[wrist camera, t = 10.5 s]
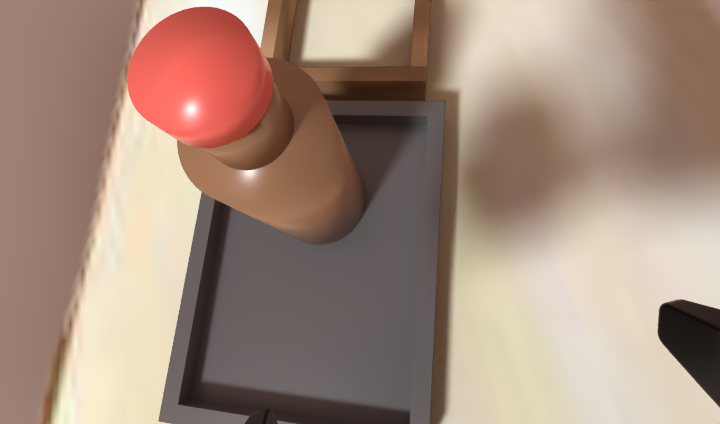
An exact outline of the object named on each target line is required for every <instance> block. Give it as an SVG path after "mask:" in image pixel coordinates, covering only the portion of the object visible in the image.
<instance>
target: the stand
mask: <svg viewBox="0 0 720 424" xmlns="http://www.w3.org/2000/svg"><path fill="white" fill-rule="evenodd" d="M296 6H297V0H269V1H268V7H267V13H266V19H265V25H264V31H263V37H262V43H261V48H260V49H261V51H262V52H263V54H264V55H265V57H267V58H276V59H281V60H284V61H287V62H288V59H289V53H290V46H291V39H292V33H293V26H294V19H295V13H296ZM430 7H431V0H415V7H414V21H413V35H412V49H411V63H410V66H403V67H299V68H301V69H302V70H304V71H305V72H306V73H307V74H308V75H309V76H311V77H312V79H313V80H314V81H315V82H316V84H317V85H318V87H319V88H320V90H321V92H322V94H323V96H324V98H325V100H328V101H425V89H426V73H427V56H428V40H429V23H430Z"/></svg>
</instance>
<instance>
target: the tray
mask: <svg viewBox="0 0 720 424" xmlns="http://www.w3.org/2000/svg"><path fill="white" fill-rule="evenodd" d="M326 103H327V105H328V107H329V109H330V111H331V114H332V116H333V118H334V120H335V122H336V125H337V127H338V129H339V131H340V133H341V136H342V138H343V140H344V142H345V144H346V147H347V149H348V151H349V153H350V155H351V157H352V160H353V162H354V164H355V166H356V168H357V171H358V173H359V175H360V177H361V179H362V182H363V184H364V187H365V192H366V205H365V210H364V213H363V216H362V218H361V220H360V222H359V223H358V225H357V226H356V227H355V229H354V230H353V231H352V232H351V233H350V234H348V235H347V236H346V237H344V238H342V239H341V240H339V241H336V242H333V243H330V244H323V245H316V244H310V243H306V242H304V241H301V240H299V239H297V238H295V237H293V236H291V235H289V234H287V233H285V232H282V231H280V230H278V229H276V228H274V227H272V226H270V225H268V224H266V223H264V222H261V221H259V220H257V219H255V218H253V217H251V216H249V215H247V214H245V213H243V212H240V211H238V210H236V209H234V208H232V207H230V206H228V205H226V204H224V203H222V202H220V201H217V200H215V199H213V198H211V197H209V196H208V195H206V194H205V193H203V192H202V194H201V199H200V204H199V210H198V215H197V220H196V225H195V231H194V236H193V241H192V247H191V252H190V257H189V262H188V268H187V273H186V278H185V283H184V289H183V294H182V299H181V305H180V310H179V315H178V320H177V326H176V331H175V336H174V342H173V347H172V352H171V357H170V363H169V368H168V373H167V379H166V384H165V389H164V394H163V400H162V405H161V410H160V416H159V422H165V423H171V424H244V423H245V422H246V420H247V419H248V417H249V416H250V415H251V414H252V413H253V412H255V411H259V410H263V409H266V408H270V409H271V410H272V411H273V413H274V415H275V418H276V420H277V422H278V424H430V406H431V385H432V364H433V343H434V323H435V302H436V281H437V260H438V239H439V218H440V197H441V176H442V155H443V134H444V113H445V101H328V100H326Z"/></svg>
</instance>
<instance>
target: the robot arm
mask: <svg viewBox="0 0 720 424" xmlns="http://www.w3.org/2000/svg"><path fill="white" fill-rule="evenodd" d="M658 336H659V339H660V340H661V342H662V344H663V345H664V346H665V347H666V348H667V349H668V350H669V352H670V353H671V354H672V355H673V356H674V357H675V358H676V359H677V361H678V362H679V363H680V364H681V365H682V366H683V367H684V368H685V369H686V371H687V372H688V373H689V374H690V375H691V376H692V377H693V378H694V380H695V381H696V382H697V383H698V384H699V385H700V386H701V387H702V388H703V390H704V391H705V392H706V393H707V394H708V395H709V396H710V397H711V398H712V399H713V401H714V402H715V403H716V404H717V405H718V406H719V407H720V309H716V308H712V307H708V306H705V305H701V304H697V303H694V302H690V301H686V300H674V301H670V302H667V303H663V304H662V305H661V306H660V308H659V318H658ZM244 424H278V422H277V420H276V418H275V415H274V413H273V411H272V410H271V409H270V408H266V409H263V410H259V411H255V412H253V413H252V414H251V415H250V416H249V417H248V419H247V420H246V422H245V423H244Z"/></svg>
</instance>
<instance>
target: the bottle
mask: <svg viewBox="0 0 720 424" xmlns="http://www.w3.org/2000/svg"><path fill="white" fill-rule="evenodd" d="M127 82H128V91H129V95H130V98H131V100H132V103H133V105H134V106H135V108H136V110H137V111H138V112H139V113H140V114H141V115H142V116H143V117H144V118H145V119H146V120H148V121H149V122H151V123H152V124H154V125H155V126H157V127H158V128H160V129H161V130H163V131H165V132H166V133H168V134H169V135H171V136H172V137H174V138H175V139H177V147H178V154H179V158H180V162H181V164H182V167H183V169H184V171H185V173H186V175H187V176H188V178H189V179H190V180H191V182H192V183H193V184H194V185H195V186H196V187H197V188H198V189H199V190H200V191H202V192H203V193H205V194H206V195H208V196H209V197H211V198H213V199H215V200H217V201H220V202H222V203H224V204H226V205H228V206H230V207H232V208H234V209H236V210H238V211H240V212H243V213H245V214H247V215H249V216H251V217H253V218H255V219H257V220H259V221H261V222H264V223H266V224H268V225H270V226H272V227H274V228H276V229H278V230H280V231H282V232H285V233H287V234H289V235H291V236H293V237H295V238H297V239H299V240H301V241H304V242H306V243H310V244H316V245H323V244H330V243H333V242H336V241H339V240H341V239H342V238H344V237H346V236H347V235H348V234H350V233H351V232H352V231H353V230H354V229H355V227H356V226H357V225H358V223H359V222H360V220H361V218H362V216H363V213H364V210H365V205H366V192H365V187H364V184H363V182H362V179H361V177H360V175H359V173H358V171H357V168H356V166H355V164H354V162H353V160H352V157H351V155H350V153H349V151H348V149H347V147H346V144H345V142H344V140H343V138H342V136H341V133H340V131H339V129H338V127H337V125H336V122H335V120H334V118H333V116H332V114H331V111H330V109H329V107H328V105H327V103H326V100H325V98H324V96H323V94H322V92H321V90H320V88H319V87H318V85H317V84H316V82H315V81H314V80H313V79H312V77H311V76H309V75H308V74H307V73H306V72H305V71H304V70H302V69H301V68H299V67H298V66H296V65H294V64H292V63H290V62H287V61H284V60H281V59H276V58H267V57H265V55H264V54H263V52H262V51H261V49H260V47H259V46H258V44H257V43H256V41H255V39H254V38H253V36H252V35H251V33H250V31H249V30H248V28H247V27H246V26H245V24H244V23H243V22H242V21H241V20H240V19H239V18H238V17H236V16H235V15H233V14H232V13H229V12H227V11H225V10H222V9H219V8H213V7H194V8H190V9H185V10H182V11H179V12H177V13H175V14H172V15H170V16H169V17H167V18H165V19H163V20H162V21H161V22H159V23H158V24H157V25H155V26H154V27H153V28H152V29H151V30H150V31H149V32H148V33H147V34H146V35H145V36H144V38H143V39H142V40H141V42H140V43H139V45H138V46H137V48H136V50H135V52H134V54H133V56H132V59H131V62H130V65H129V70H128V81H127Z"/></svg>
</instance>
